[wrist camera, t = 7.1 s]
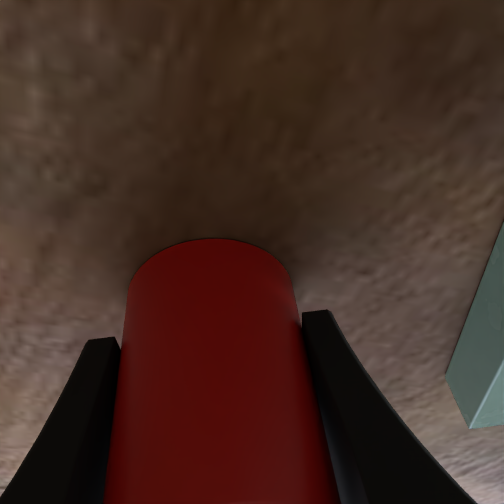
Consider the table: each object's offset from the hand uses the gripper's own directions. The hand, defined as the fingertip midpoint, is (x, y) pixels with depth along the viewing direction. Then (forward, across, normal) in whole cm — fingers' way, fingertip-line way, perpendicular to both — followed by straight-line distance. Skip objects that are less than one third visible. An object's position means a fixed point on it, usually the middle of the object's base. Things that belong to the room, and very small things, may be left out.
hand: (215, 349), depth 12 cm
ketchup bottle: (+2, 0, 0) cm, 2 cm away
